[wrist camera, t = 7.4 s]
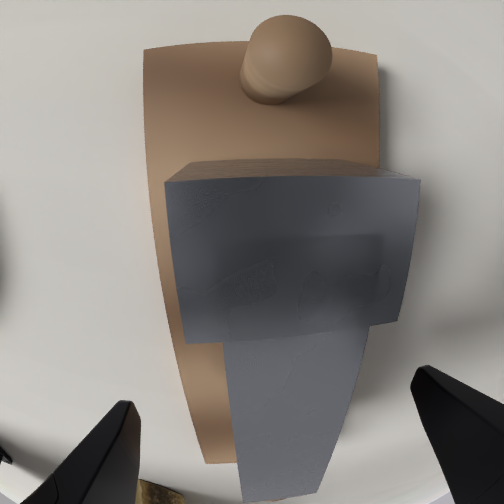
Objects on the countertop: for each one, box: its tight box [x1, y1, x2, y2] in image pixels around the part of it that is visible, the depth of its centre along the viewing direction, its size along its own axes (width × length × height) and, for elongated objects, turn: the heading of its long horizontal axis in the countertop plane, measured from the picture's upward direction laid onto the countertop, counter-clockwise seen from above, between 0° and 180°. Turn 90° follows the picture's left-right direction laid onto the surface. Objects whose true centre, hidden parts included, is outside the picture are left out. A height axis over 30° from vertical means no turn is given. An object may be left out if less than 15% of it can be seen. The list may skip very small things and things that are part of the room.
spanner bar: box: [164, 158, 421, 503], centre depth 9 cm, size 12×4×4 cm, turn 1°
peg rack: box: [143, 15, 380, 501], centre depth 9 cm, size 19×7×4 cm, turn 1°
